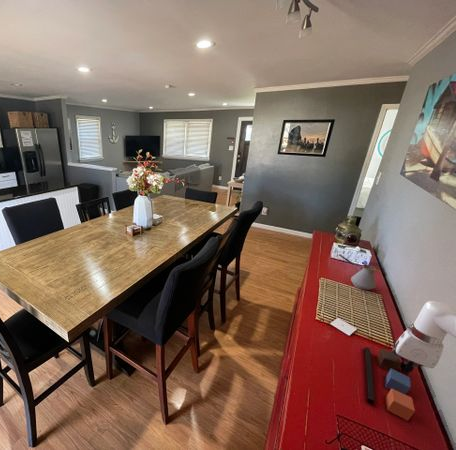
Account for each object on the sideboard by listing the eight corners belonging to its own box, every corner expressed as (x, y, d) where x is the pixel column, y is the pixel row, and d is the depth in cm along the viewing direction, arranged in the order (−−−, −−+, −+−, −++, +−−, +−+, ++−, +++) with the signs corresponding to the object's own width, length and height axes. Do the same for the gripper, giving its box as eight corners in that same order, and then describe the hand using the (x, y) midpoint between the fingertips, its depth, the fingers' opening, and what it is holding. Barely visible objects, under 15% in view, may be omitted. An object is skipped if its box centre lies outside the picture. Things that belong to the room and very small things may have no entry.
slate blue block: (403, 387, 86) (410, 377, 84) (404, 397, 82) (410, 387, 80) (385, 377, 89) (390, 368, 87) (385, 387, 85) (390, 377, 84)
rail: (368, 352, 99) (370, 348, 98) (372, 405, 80) (374, 401, 79) (363, 350, 100) (365, 346, 99) (366, 402, 80) (369, 398, 80)
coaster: (357, 328, 110) (357, 327, 110) (349, 335, 106) (349, 334, 106) (338, 317, 117) (338, 316, 116) (329, 323, 113) (330, 322, 112)
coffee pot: (375, 286, 141) (385, 265, 135) (372, 295, 134) (382, 272, 128) (333, 271, 155) (340, 250, 150) (328, 277, 148) (335, 256, 142)
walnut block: (392, 362, 95) (397, 353, 93) (396, 373, 91) (401, 363, 89) (376, 357, 97) (380, 348, 95) (379, 366, 93) (384, 357, 91)
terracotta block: (405, 407, 79) (412, 397, 77) (408, 421, 76) (415, 411, 74) (385, 397, 82) (391, 388, 80) (387, 410, 78) (393, 400, 76)
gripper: (398, 330, 85) (379, 366, 92) (461, 353, 77) (435, 390, 84) (396, 318, 91) (377, 352, 98) (454, 338, 82) (430, 374, 89)
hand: (404, 370), depth 91 cm, fingers closed
